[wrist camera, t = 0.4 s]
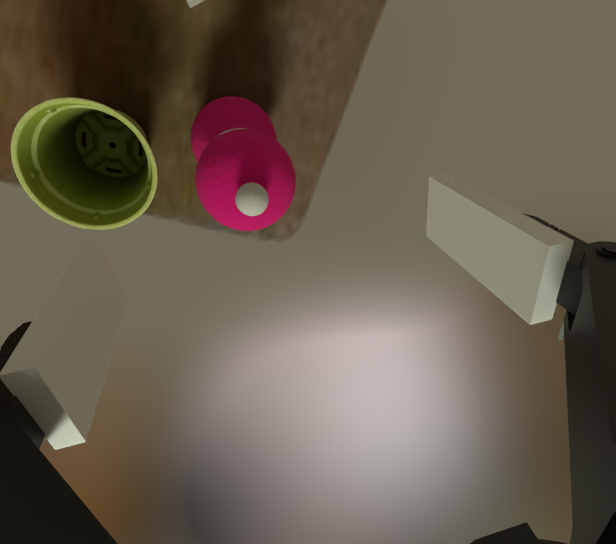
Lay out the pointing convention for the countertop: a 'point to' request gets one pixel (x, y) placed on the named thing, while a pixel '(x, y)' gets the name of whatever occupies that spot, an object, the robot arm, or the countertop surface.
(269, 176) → the pepper mill
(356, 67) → the countertop surface
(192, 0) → the cream cuboid
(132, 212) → the plant pot
